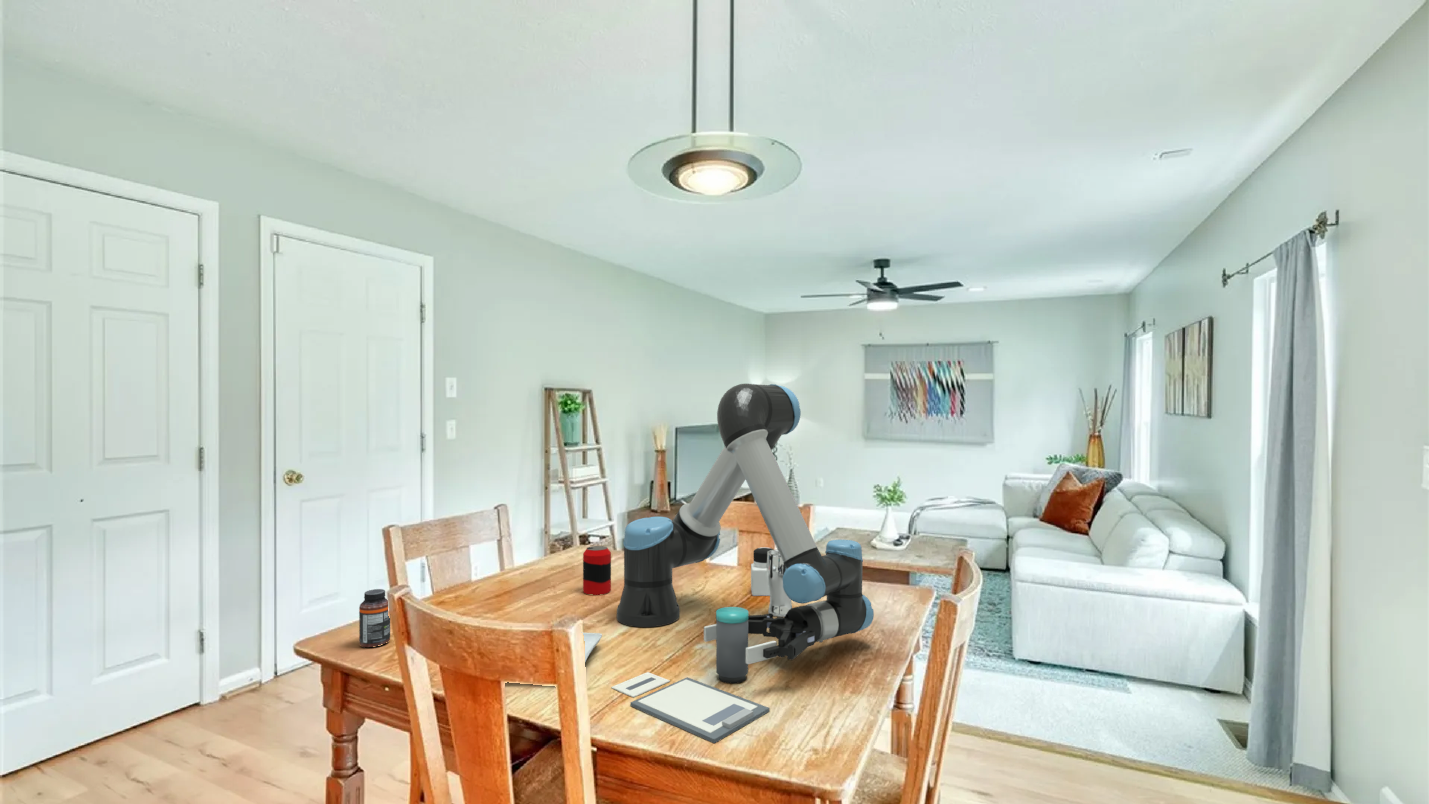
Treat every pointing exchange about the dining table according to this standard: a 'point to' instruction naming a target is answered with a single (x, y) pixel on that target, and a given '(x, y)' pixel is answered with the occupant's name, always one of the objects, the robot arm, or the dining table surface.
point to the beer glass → (777, 585)
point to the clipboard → (700, 709)
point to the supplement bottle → (374, 619)
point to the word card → (640, 684)
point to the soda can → (597, 570)
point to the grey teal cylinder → (731, 644)
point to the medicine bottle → (760, 573)
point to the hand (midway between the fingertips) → (724, 644)
